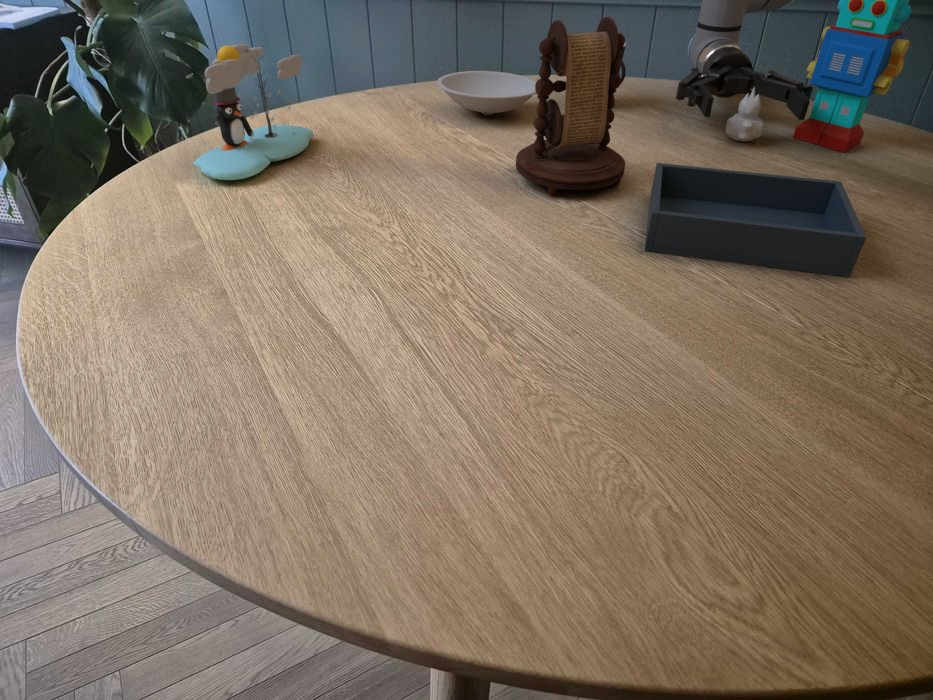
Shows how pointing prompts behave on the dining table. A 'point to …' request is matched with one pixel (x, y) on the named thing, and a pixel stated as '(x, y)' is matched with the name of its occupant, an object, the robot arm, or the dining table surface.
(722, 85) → the robot arm
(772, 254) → the bin
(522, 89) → the dish
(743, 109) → the white figurine
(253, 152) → the penguin figurine
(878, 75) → the toy robot
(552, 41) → the scroll
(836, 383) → the dining table surface
